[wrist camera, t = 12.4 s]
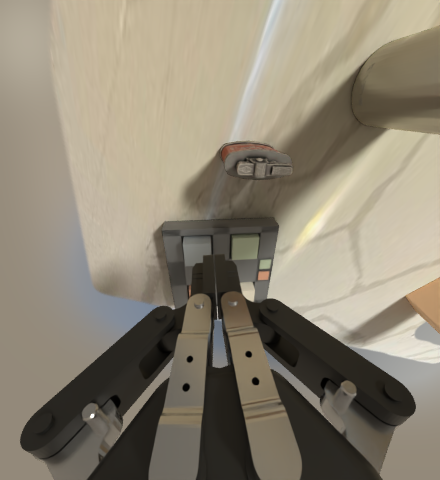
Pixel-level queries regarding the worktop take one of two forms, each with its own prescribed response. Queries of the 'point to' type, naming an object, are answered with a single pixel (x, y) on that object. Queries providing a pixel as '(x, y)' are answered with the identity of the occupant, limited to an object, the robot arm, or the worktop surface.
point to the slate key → (196, 248)
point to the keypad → (220, 252)
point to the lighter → (255, 160)
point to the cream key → (248, 290)
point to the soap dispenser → (427, 303)
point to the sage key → (244, 246)
